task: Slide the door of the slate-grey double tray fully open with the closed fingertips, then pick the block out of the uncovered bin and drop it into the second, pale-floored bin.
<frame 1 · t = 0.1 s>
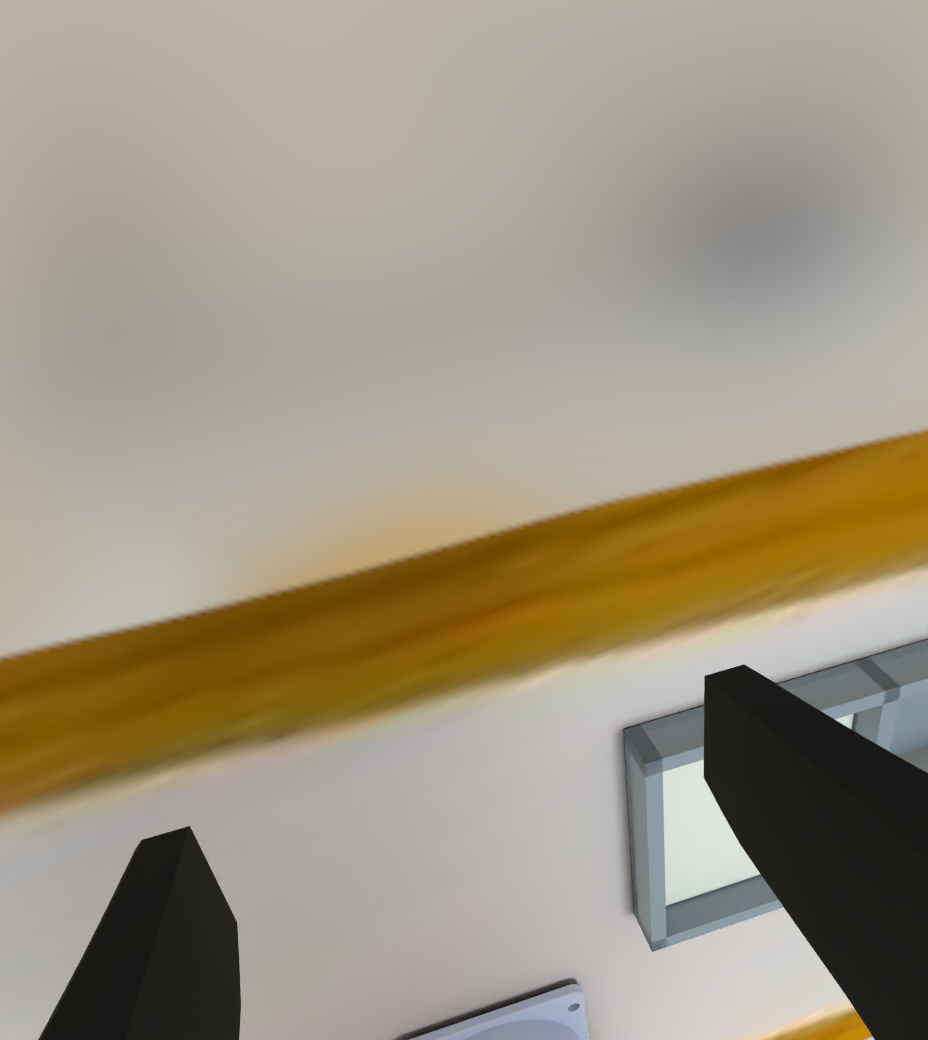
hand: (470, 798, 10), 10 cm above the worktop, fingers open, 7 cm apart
block: (907, 785, 30), resting on tray
tray: (856, 758, 29), on the worktop
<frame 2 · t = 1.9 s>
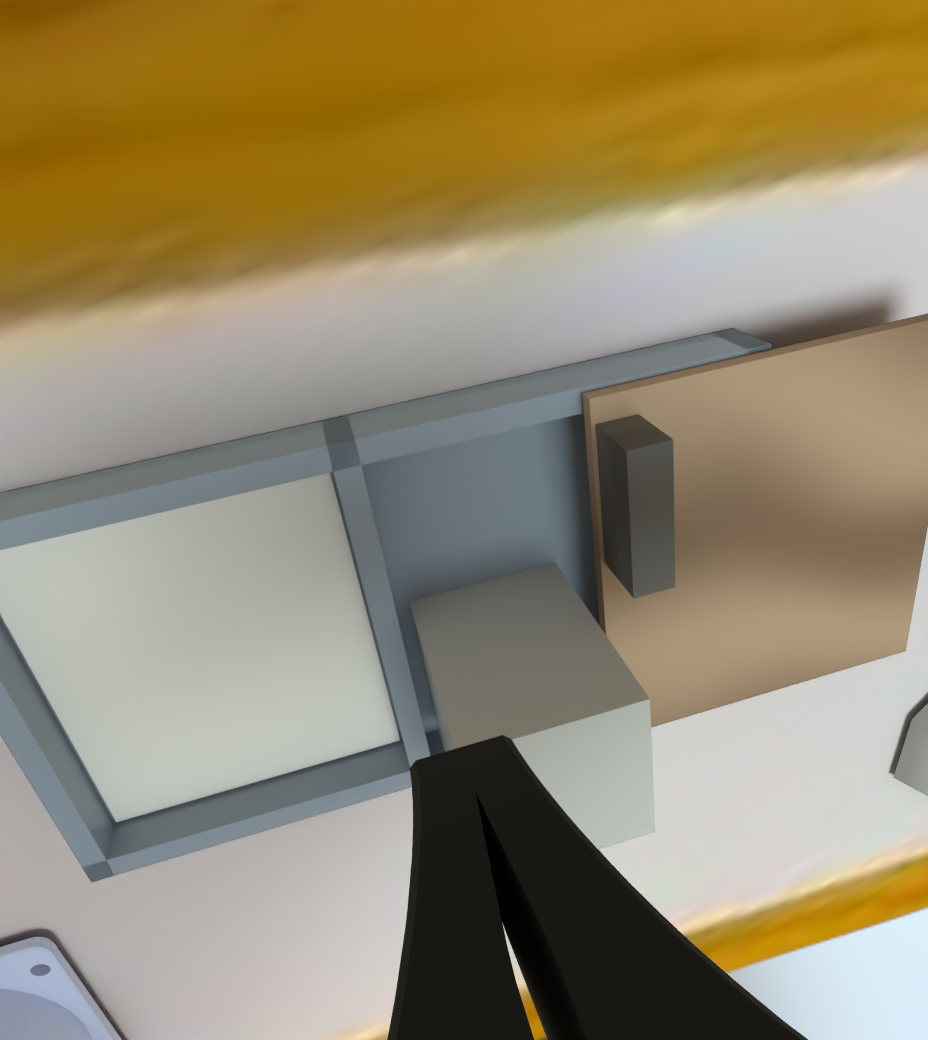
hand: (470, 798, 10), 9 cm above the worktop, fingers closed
block: (493, 642, 20), resting on tray
door: (787, 556, 18), point 3 cm above the worktop, slide at 5.0 cm
tray: (398, 595, 19), on the worktop
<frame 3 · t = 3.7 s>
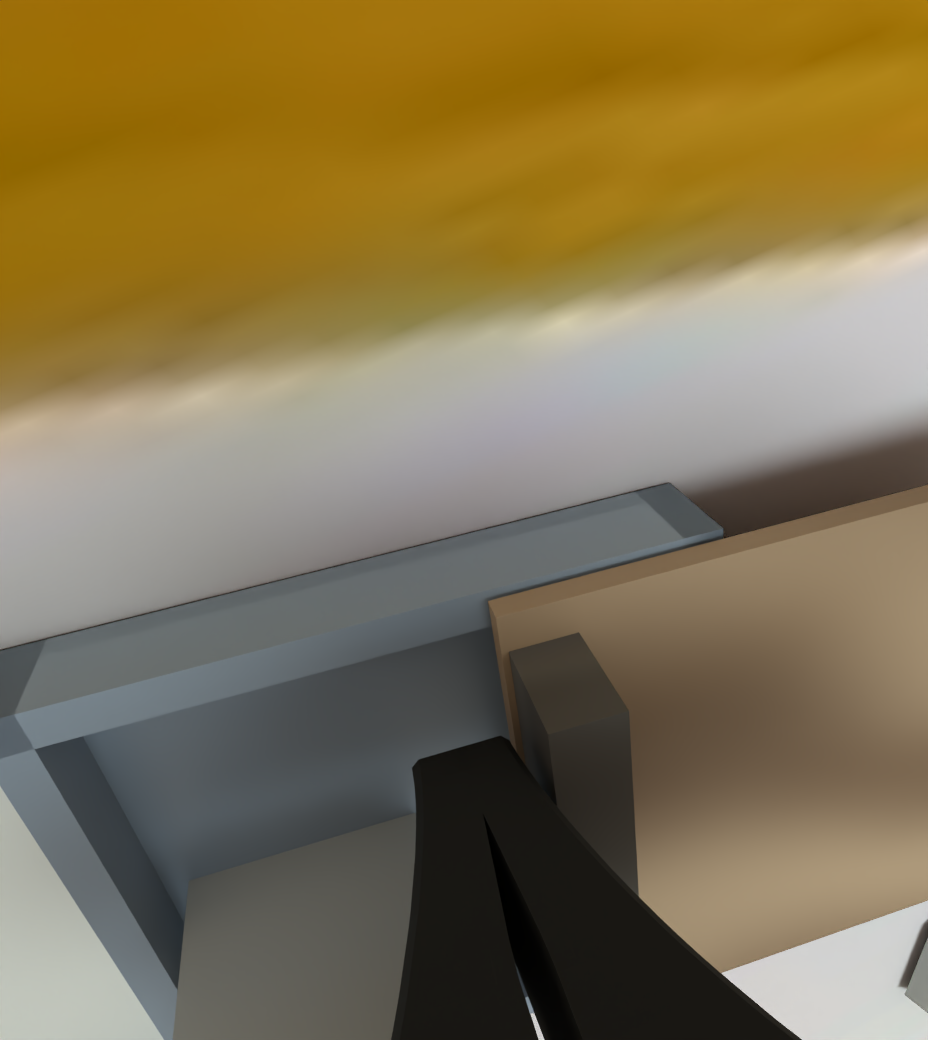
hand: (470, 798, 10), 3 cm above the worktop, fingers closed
block: (330, 915, 14), resting on tray
door: (813, 810, 12), point 3 cm above the worktop, slide at 6.1 cm, touching gripper
tray: (179, 864, 13), on the worktop
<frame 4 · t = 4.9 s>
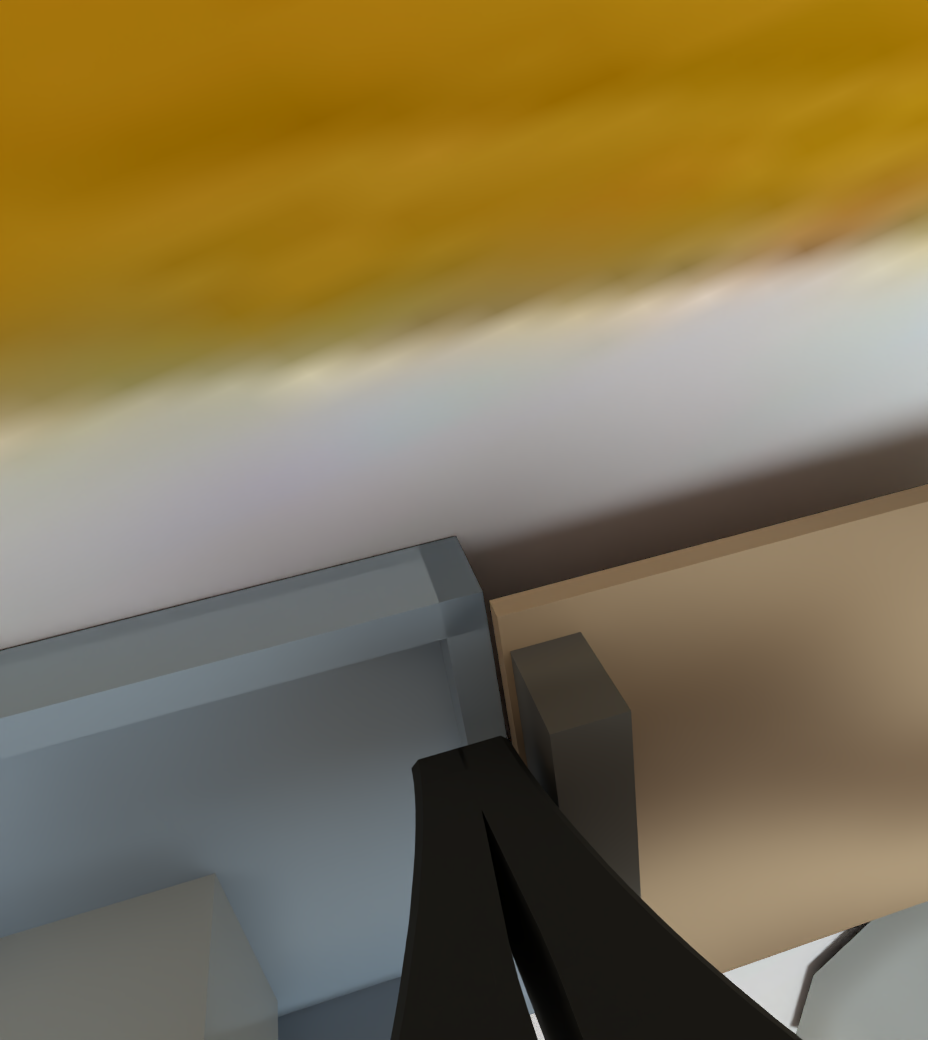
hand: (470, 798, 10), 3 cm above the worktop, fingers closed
block: (138, 976, 13), resting on tray
door: (815, 810, 12), point 3 cm above the worktop, slide at 9.7 cm, touching gripper
flask: (901, 951, 21), on the worktop
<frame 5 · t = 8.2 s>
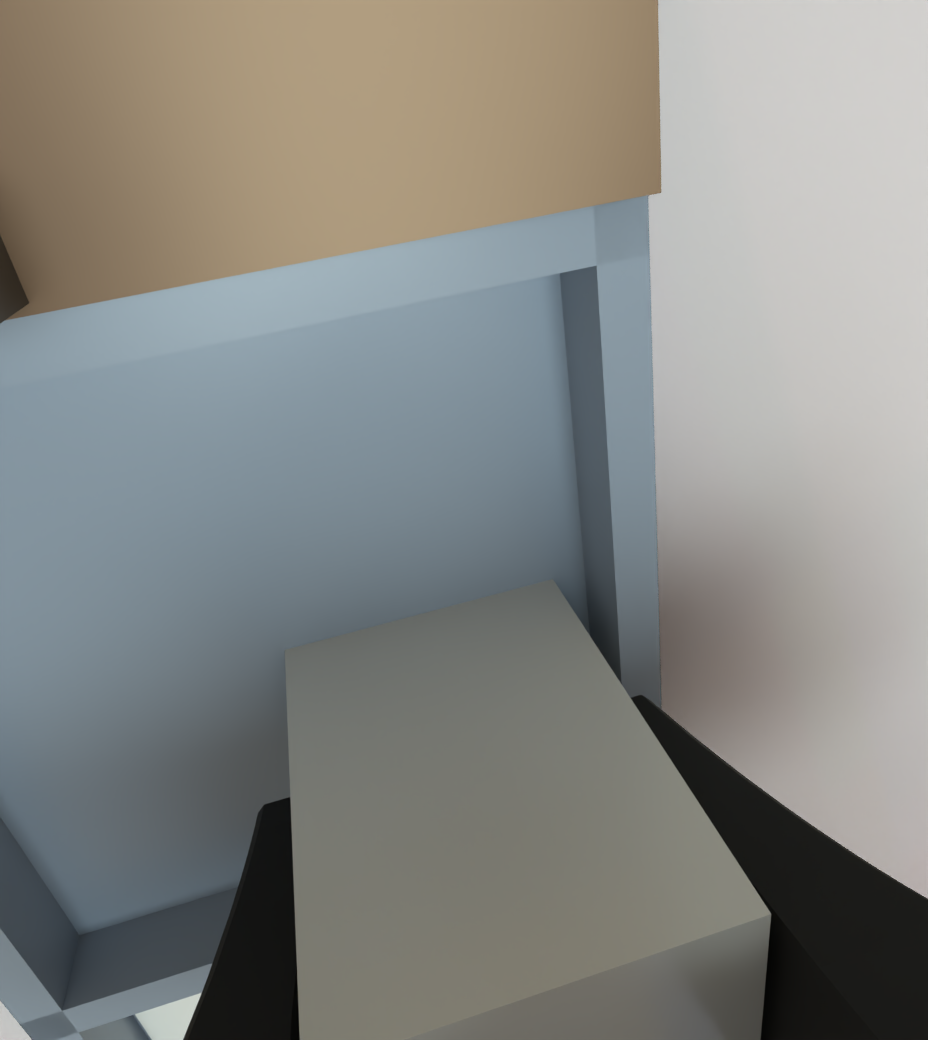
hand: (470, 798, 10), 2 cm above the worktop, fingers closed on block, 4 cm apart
block: (444, 715, 12), resting on tray, touching gripper
tray: (348, 825, 13), on the worktop
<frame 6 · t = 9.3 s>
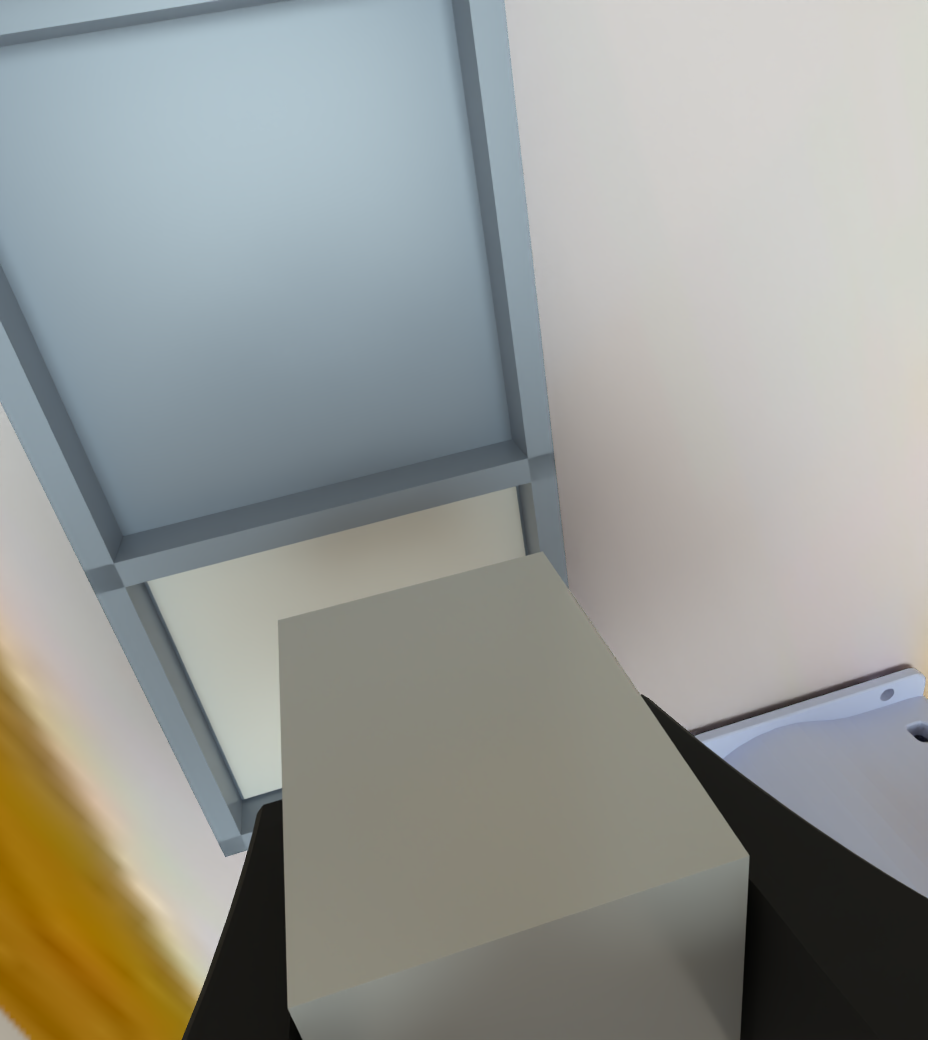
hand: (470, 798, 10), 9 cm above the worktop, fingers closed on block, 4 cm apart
block: (436, 688, 12), point 7 cm above the worktop, touching gripper
tray: (321, 471, 17), on the worktop
when the fingers open (4 cm above the worktop, at t = 10.9 s): block drops 1 cm, resting on tray.
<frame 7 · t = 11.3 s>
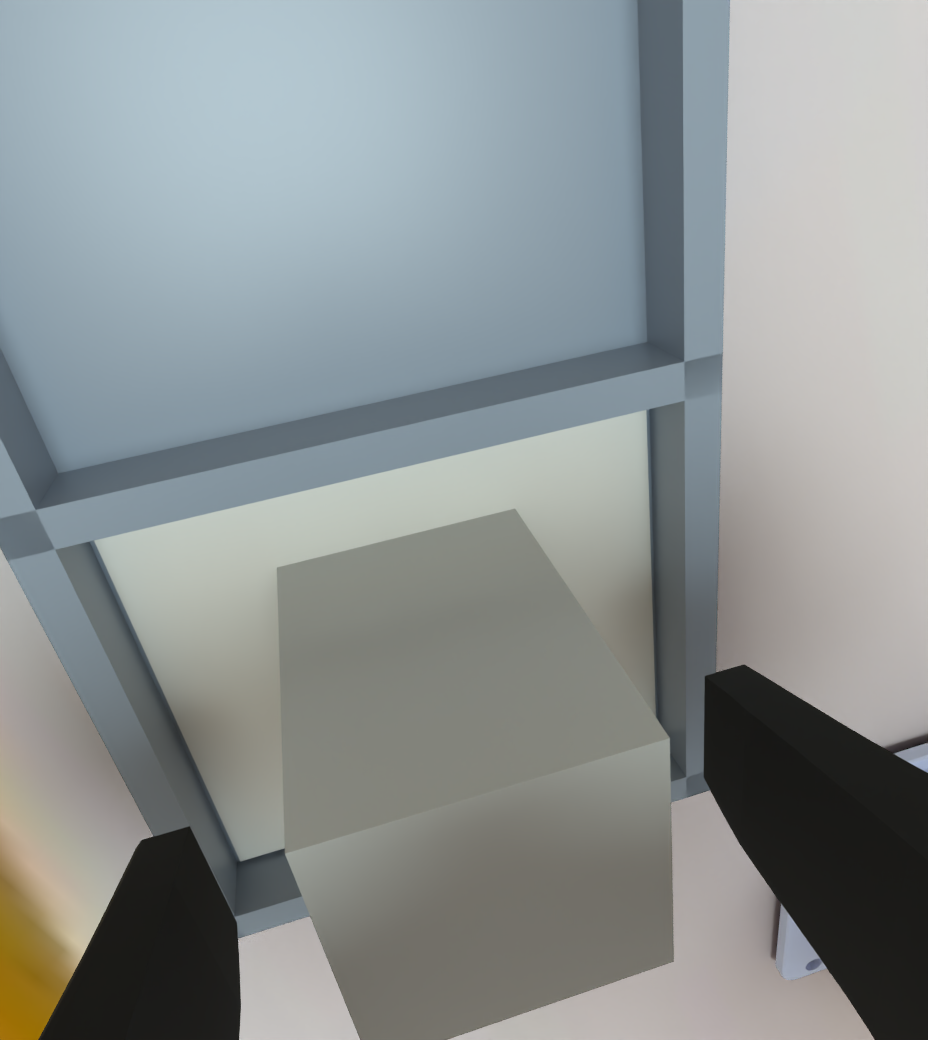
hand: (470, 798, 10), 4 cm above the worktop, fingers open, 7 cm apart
block: (419, 633, 13), resting on tray
tray: (362, 383, 11), on the worktop
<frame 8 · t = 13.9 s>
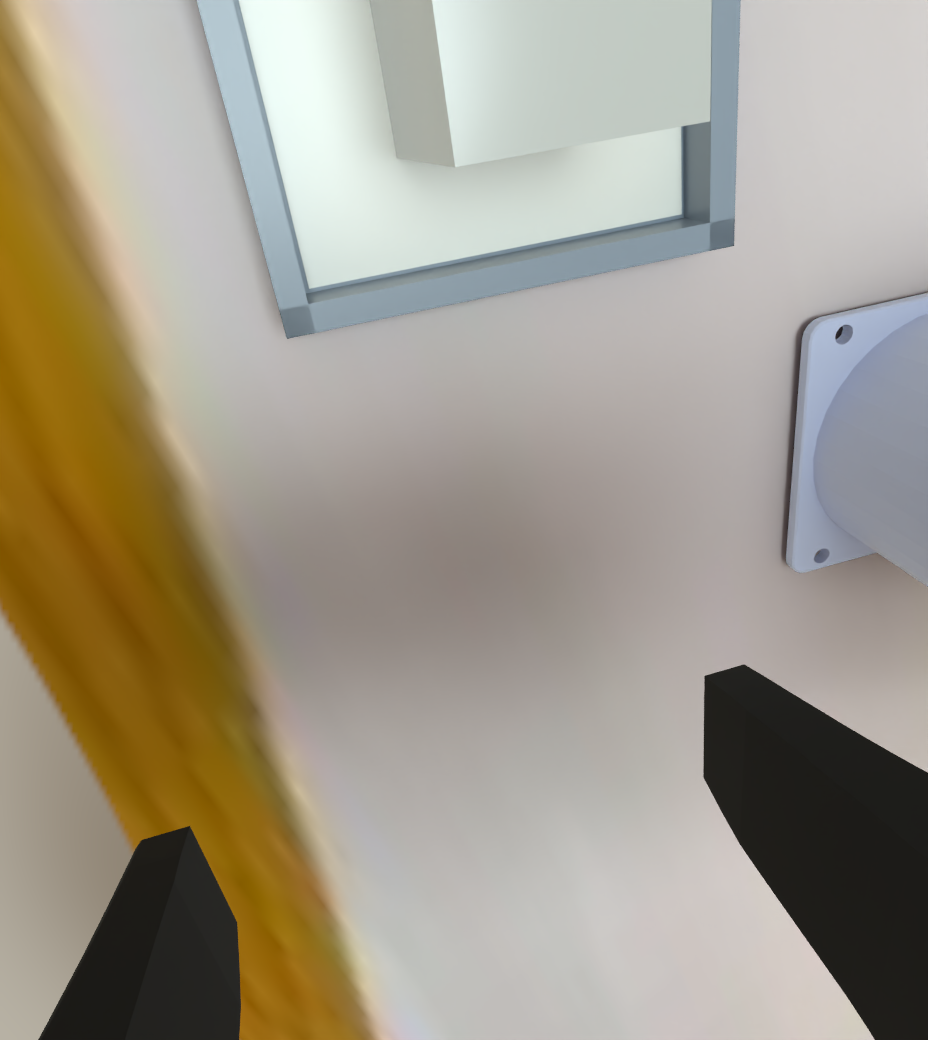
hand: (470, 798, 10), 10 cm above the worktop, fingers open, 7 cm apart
block: (475, 30, 15), resting on tray
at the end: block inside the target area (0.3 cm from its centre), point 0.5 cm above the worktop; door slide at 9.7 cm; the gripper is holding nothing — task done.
